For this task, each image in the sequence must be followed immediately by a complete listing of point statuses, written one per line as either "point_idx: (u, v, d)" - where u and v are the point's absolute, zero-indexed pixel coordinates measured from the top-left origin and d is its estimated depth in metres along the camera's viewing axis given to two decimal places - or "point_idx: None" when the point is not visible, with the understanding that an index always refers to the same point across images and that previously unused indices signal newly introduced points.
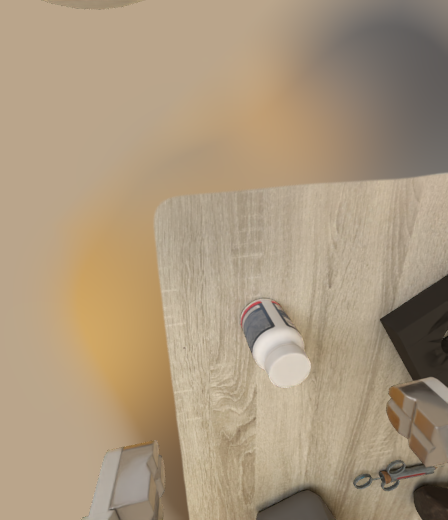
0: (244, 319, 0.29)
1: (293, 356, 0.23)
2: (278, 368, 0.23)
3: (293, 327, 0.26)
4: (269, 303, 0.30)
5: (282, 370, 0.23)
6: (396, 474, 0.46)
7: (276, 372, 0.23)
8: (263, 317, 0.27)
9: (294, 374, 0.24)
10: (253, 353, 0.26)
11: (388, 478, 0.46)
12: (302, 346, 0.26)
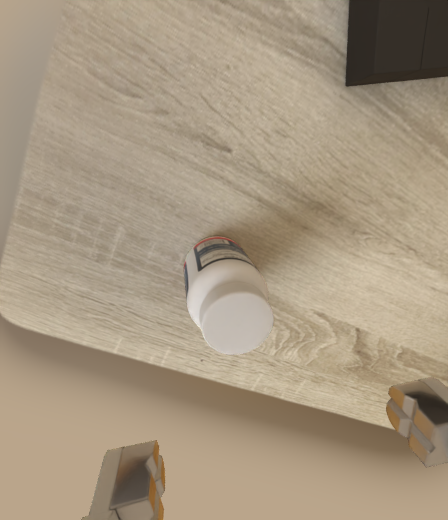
0: None
1: (213, 312, 0.14)
2: (220, 338, 0.14)
3: (208, 263, 0.16)
4: (191, 252, 0.20)
5: (228, 335, 0.14)
6: None
7: (226, 343, 0.14)
8: (185, 284, 0.18)
9: (249, 321, 0.14)
10: None
11: None
12: (238, 271, 0.15)
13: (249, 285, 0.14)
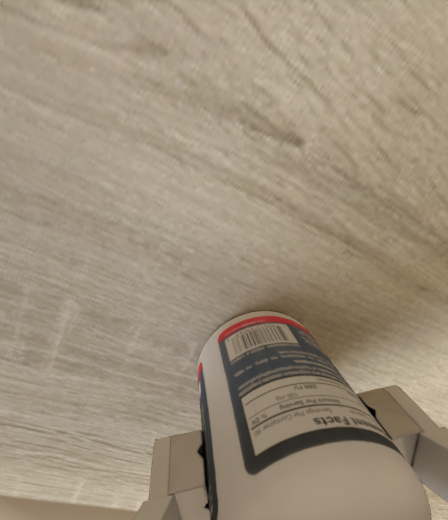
0: None
1: None
2: None
3: (276, 450, 0.06)
4: (214, 351, 0.10)
5: None
6: None
7: None
8: (205, 447, 0.08)
9: None
10: None
11: None
12: (375, 501, 0.05)
13: None
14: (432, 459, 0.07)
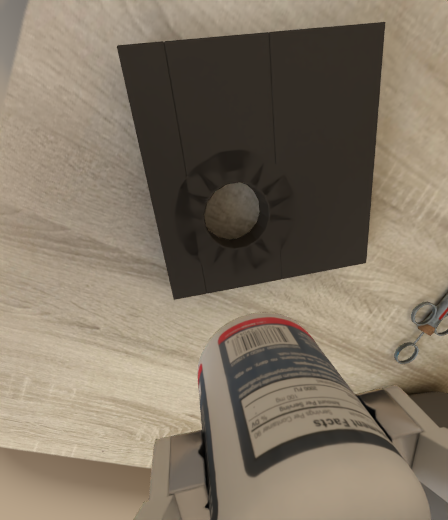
0: None
1: None
2: None
3: (276, 452, 0.06)
4: (214, 352, 0.10)
5: None
6: (434, 316, 0.34)
7: None
8: (205, 449, 0.08)
9: None
10: None
11: (427, 329, 0.34)
12: (375, 503, 0.05)
13: None
14: (432, 459, 0.07)
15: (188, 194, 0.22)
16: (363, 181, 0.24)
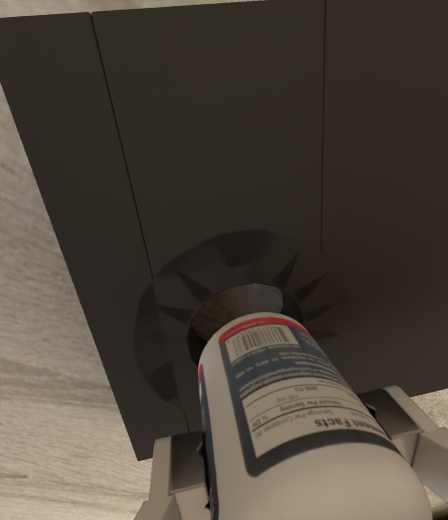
0: None
1: None
2: None
3: (277, 452, 0.06)
4: (215, 352, 0.10)
5: None
6: None
7: None
8: (206, 448, 0.08)
9: None
10: None
11: None
12: (376, 503, 0.05)
13: None
14: (432, 459, 0.07)
15: (157, 308, 0.12)
16: None
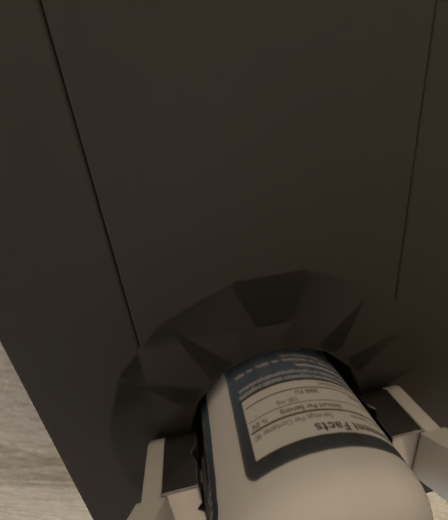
0: None
1: None
2: None
3: (277, 456, 0.06)
4: None
5: None
6: None
7: None
8: (205, 451, 0.08)
9: None
10: None
11: None
12: (377, 508, 0.05)
13: None
14: (433, 459, 0.07)
15: (146, 388, 0.08)
16: None
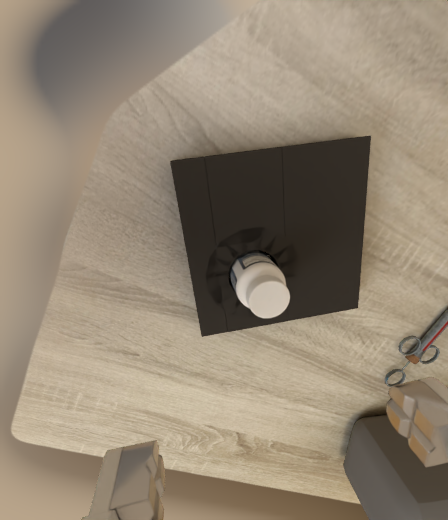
0: None
1: (256, 292, 0.24)
2: (259, 308, 0.25)
3: (250, 264, 0.27)
4: None
5: (263, 306, 0.25)
6: (419, 348, 0.40)
7: (262, 311, 0.25)
8: (232, 277, 0.29)
9: (275, 298, 0.25)
10: (249, 307, 0.28)
11: (413, 358, 0.40)
12: (268, 269, 0.26)
13: (275, 277, 0.25)
14: None
15: (217, 259, 0.29)
16: (354, 247, 0.30)
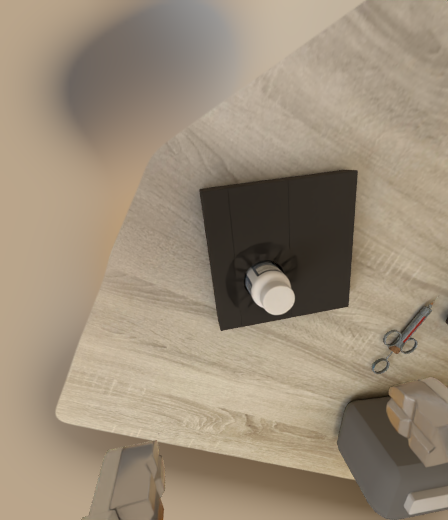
0: None
1: (268, 294, 0.31)
2: (270, 307, 0.31)
3: (262, 272, 0.33)
4: None
5: (274, 305, 0.32)
6: (400, 340, 0.47)
7: (273, 309, 0.32)
8: (247, 282, 0.36)
9: (283, 299, 0.31)
10: (261, 306, 0.35)
11: (395, 349, 0.48)
12: (277, 276, 0.33)
13: (283, 283, 0.32)
14: None
15: (235, 268, 0.35)
16: (345, 257, 0.38)
